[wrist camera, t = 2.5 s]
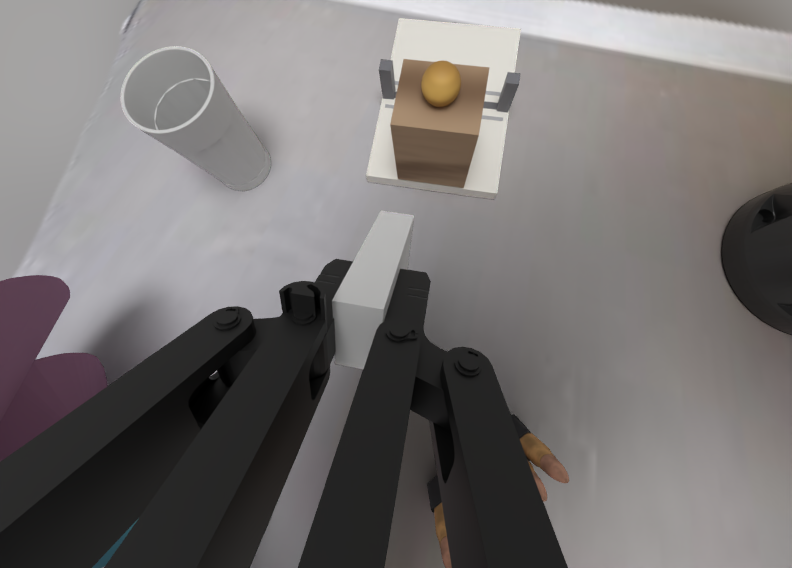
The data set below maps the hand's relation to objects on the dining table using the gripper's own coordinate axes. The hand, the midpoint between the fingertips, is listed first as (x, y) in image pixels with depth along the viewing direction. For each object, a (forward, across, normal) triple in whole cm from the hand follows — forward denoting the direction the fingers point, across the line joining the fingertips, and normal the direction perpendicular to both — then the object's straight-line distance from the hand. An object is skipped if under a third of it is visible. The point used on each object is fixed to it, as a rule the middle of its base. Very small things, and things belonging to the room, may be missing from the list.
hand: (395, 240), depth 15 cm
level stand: (+29, 0, +2) cm, 29 cm away
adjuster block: (+23, 0, -2) cm, 23 cm away
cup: (+23, -22, -6) cm, 32 cm away
